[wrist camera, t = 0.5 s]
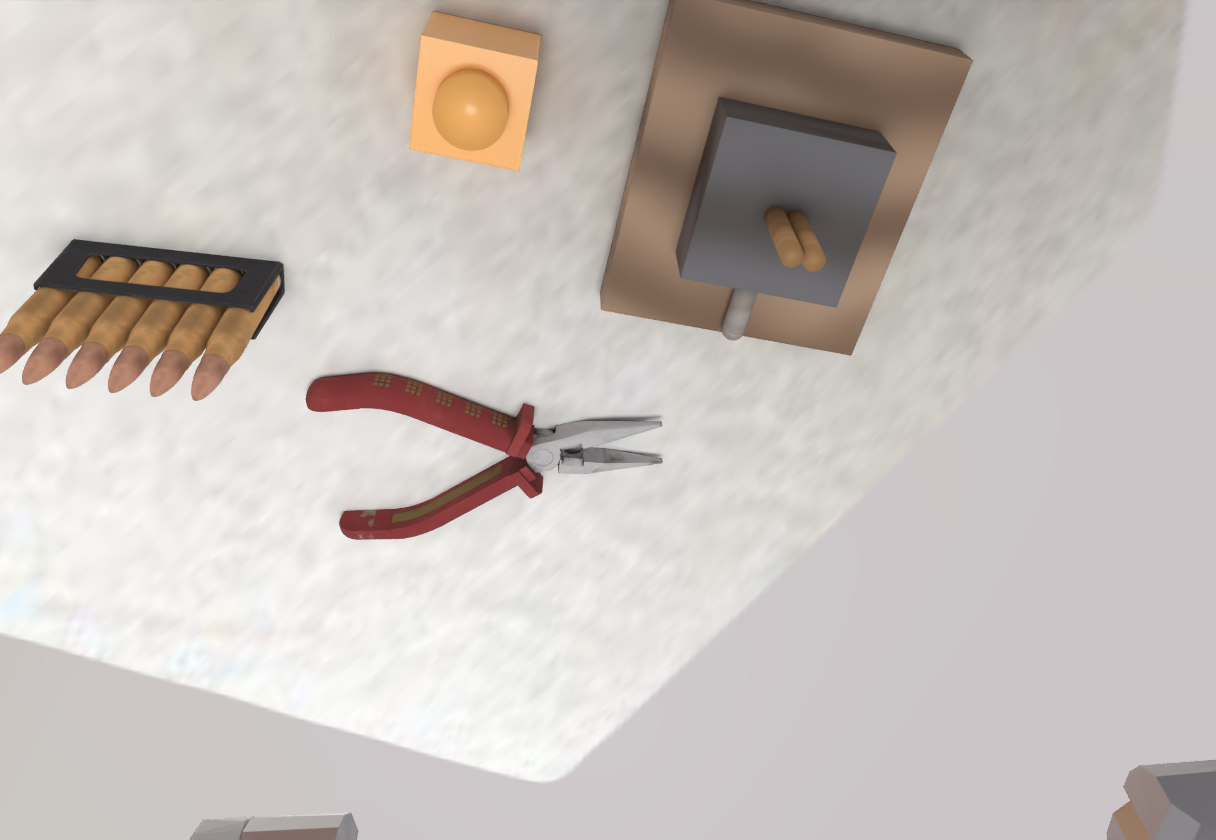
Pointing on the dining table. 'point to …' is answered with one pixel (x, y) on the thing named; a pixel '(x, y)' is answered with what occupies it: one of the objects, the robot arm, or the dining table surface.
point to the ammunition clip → (141, 315)
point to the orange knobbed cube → (473, 90)
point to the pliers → (482, 425)
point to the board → (781, 81)
